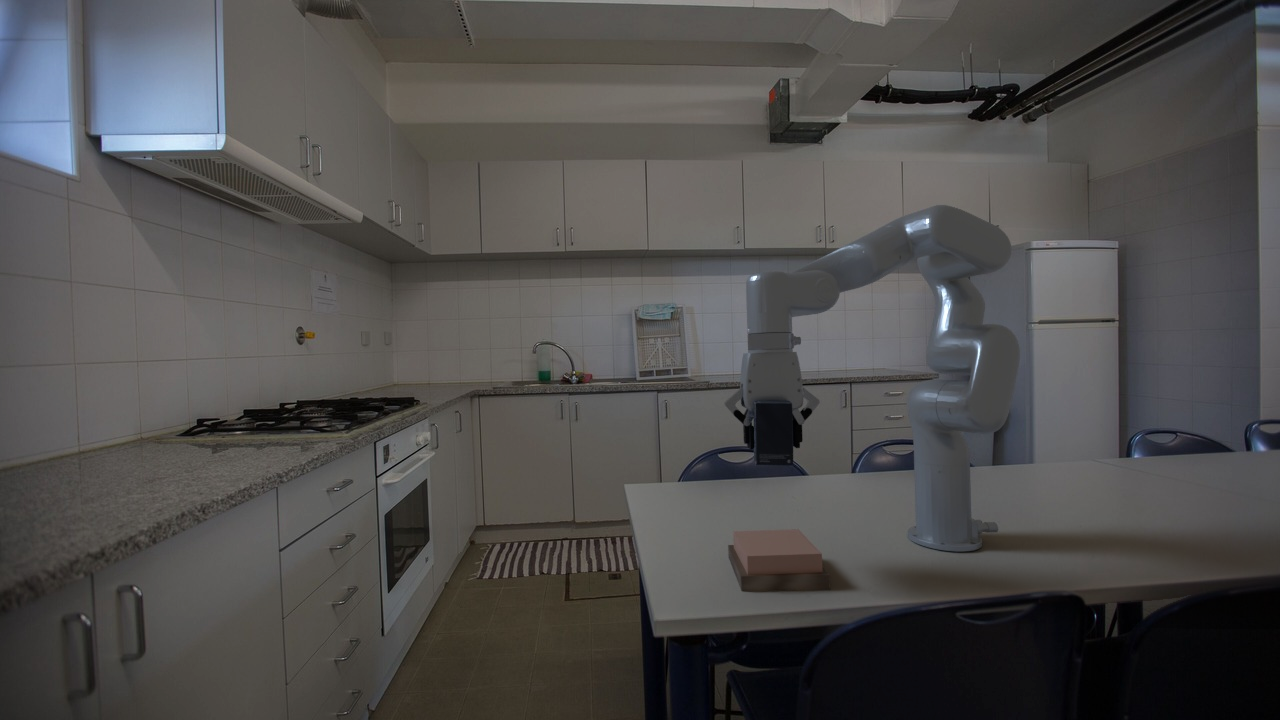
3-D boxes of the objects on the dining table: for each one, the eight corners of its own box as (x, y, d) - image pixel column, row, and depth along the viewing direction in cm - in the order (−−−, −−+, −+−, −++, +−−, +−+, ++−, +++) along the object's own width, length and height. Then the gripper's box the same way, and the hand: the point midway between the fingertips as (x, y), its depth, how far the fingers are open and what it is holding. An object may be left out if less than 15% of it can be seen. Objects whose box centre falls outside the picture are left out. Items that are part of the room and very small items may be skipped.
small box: (796, 466, 84) (793, 401, 84) (754, 466, 85) (752, 402, 85) (790, 454, 94) (788, 396, 94) (753, 454, 95) (751, 397, 95)
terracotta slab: (798, 545, 95) (798, 529, 95) (822, 572, 83) (821, 553, 83) (733, 547, 95) (733, 531, 95) (747, 574, 83) (747, 556, 83)
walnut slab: (804, 559, 96) (803, 543, 96) (830, 593, 82) (829, 574, 82) (728, 561, 97) (728, 545, 97) (741, 595, 83) (741, 576, 83)
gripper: (813, 343, 93) (816, 442, 93) (716, 346, 93) (719, 445, 93) (828, 342, 86) (831, 449, 86) (722, 345, 86) (725, 452, 86)
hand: (773, 446), depth 90 cm, fingers closed on small box, 7 cm apart
